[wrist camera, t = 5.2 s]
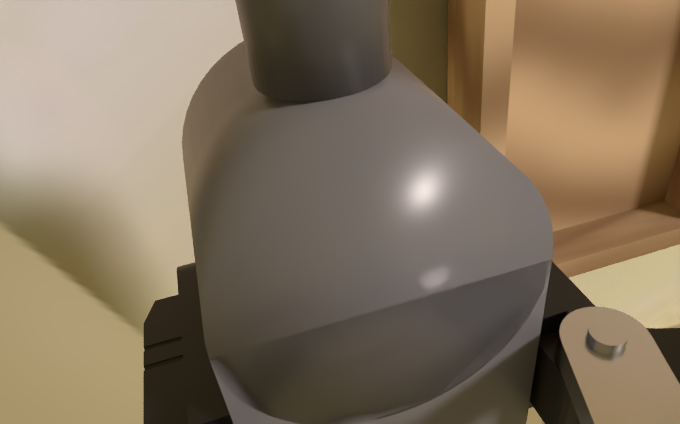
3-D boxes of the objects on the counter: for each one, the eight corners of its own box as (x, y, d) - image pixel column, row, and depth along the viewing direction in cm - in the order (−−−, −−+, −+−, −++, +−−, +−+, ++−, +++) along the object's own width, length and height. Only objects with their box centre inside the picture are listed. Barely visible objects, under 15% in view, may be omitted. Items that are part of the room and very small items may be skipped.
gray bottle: (91, -131, 7) (40, -94, 4) (411, -175, 8) (622, -180, 4) (275, 455, 15) (314, 641, 12) (424, 406, 16) (503, 567, 12)
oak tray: (448, -318, 14) (500, -346, 12) (826, -353, 16) (926, -383, 14) (446, 268, 26) (473, 306, 24) (668, 205, 28) (710, 234, 26)
